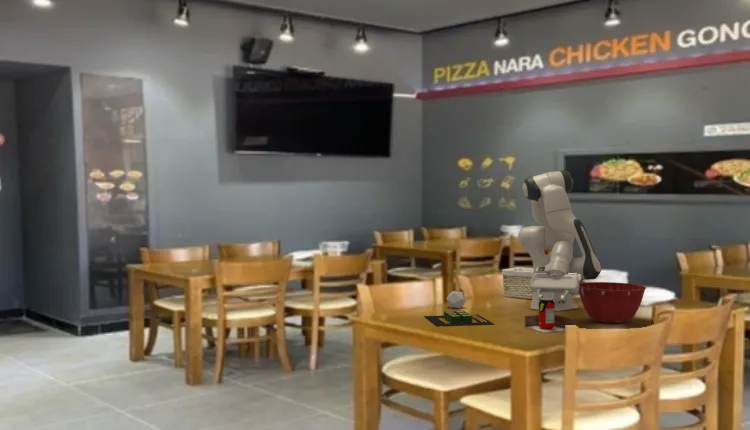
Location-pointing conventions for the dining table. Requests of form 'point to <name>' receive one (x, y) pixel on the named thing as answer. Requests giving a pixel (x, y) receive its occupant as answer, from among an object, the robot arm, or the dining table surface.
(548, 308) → the beverage can
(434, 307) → the dining table surface
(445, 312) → the sushi
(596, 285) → the mixing bowl
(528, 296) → the storage basket
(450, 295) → the die
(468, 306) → the dining table surface
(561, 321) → the corner fence
